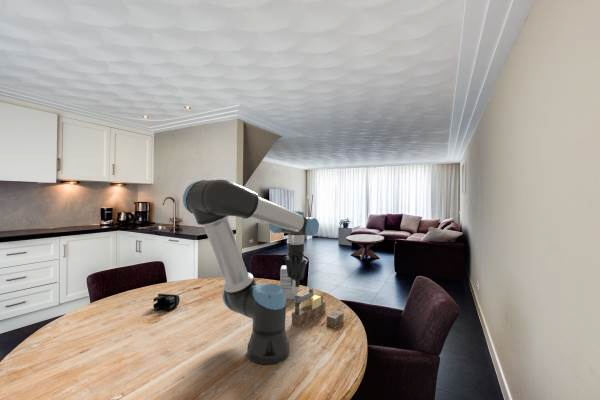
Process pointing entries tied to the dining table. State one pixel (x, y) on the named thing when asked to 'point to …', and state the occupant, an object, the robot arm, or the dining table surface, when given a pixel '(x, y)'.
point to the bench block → (335, 318)
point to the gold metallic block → (312, 302)
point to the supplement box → (286, 283)
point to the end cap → (166, 302)
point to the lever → (303, 296)
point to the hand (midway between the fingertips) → (295, 293)
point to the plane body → (306, 313)
